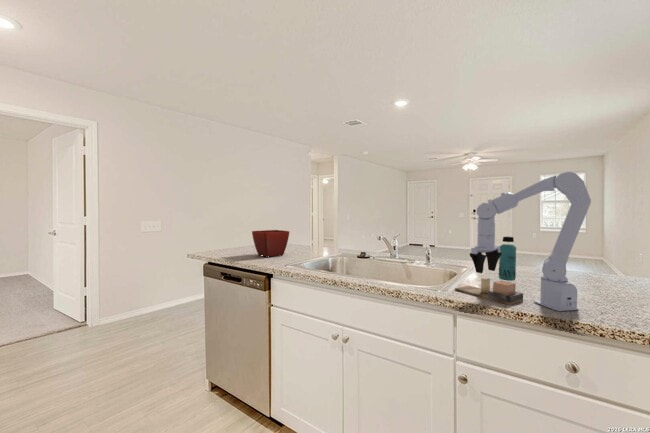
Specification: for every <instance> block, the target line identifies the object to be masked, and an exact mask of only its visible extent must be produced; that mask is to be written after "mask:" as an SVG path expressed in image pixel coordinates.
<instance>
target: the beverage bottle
mask: <svg viewBox="0 0 650 433" xmlns="http://www.w3.org/2000/svg"><path fill="white" fill-rule="evenodd" d="M502 242H504V243H502V244H501V245H499V246H500V251H499V252H502V255H501V256H500V258H499V260H498V262H499V263H498V278H499V280H500V281H506V282H510V281H511V282H513V281H515V280H516V279H517V278H516V276H517V271H516V270H517V265H516V264H517V247H516V245H515V244H509V243H514V242H515V241H514V237H513V236H503V237H502Z"/></svg>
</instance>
